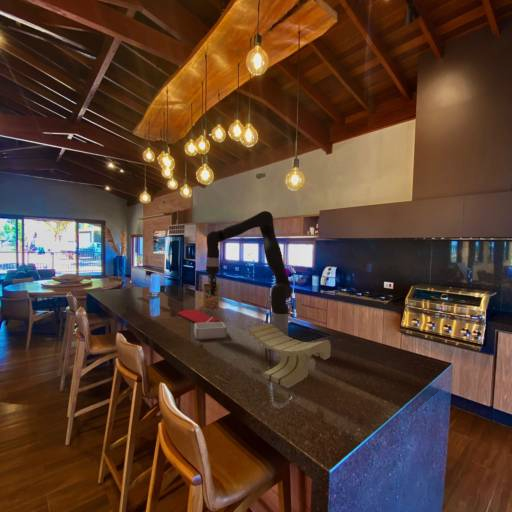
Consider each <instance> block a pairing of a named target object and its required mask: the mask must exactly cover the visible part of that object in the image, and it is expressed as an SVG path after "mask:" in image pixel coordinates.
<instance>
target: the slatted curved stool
mask: <svg viewBox="0 0 512 512" xmlns="http://www.w3.org/2000/svg"><path fill="white" fill-rule="evenodd" d="M248 335H249V336H252V337H253V340H256V341H257V340H258V343H259V344H261V345H262V344H263V348H266V349H268V350H272V351H274V352H276V353H281V360H280V362H279V363H277V365H276V366H274V367H272V368H271V369H268V370H266V371H264V372H263V374H262V377H263V378H265V379H267V380H270V381H271V382H273V383H276V384H277V385H280V386H282V387H285V388H287V389H289V388H291V387H293V386H294V385H296V384H298V383H300V382H302V381H303V380H305V379H306V378H307V377H308V374H309V373H308V372H309V365H310V364H309V363H310V360H311V357H312V356H316V357H319V358H321V359H323V360H324V361H326V360H327V359H329V358H331V350H332V349H331V346H332V345H331V341H330V340H329V339H325V340H321V341H318V342H315V341H313V342H306V341H301V340H298V339H296V338H295V339H294V338H292V337H290V336H289V335H288V336H286V335H285V334H284V333H282V332H280V330H279V329H277V328H275V326H274V325H272V324H271V323H265V324H260V325H256V326H253V327H249V328H248ZM305 377H306V378H305ZM304 378H305V379H304Z"/></svg>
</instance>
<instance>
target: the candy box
mask: <svg viewBox="0 0 512 512" xmlns="http://www.w3.org/2000/svg"><path fill="white" fill-rule="evenodd" d="M220 284H221V283H217V282H216V288H215V295H211V285H210V283H208V282H204V284H203V302H202V310H204V311H205V310H206V311H219V310H220V308H219V307H220V289H221V288H220V286H221V285H220ZM213 286H214V285H213Z"/></svg>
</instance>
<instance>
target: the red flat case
mask: <svg viewBox="0 0 512 512" xmlns="http://www.w3.org/2000/svg"><path fill="white" fill-rule="evenodd" d="M176 314H177V315H178V316H179V317H182V318H184V319H187V321H191V322H192V323H193V324H194V323H207V322H223V321H221V320H220V319H219V318H216V317H214V316H212V315H209V314H207V313H206V312H202V311H200V310H197V309H186V310H180V311H178V312H177V313H176Z"/></svg>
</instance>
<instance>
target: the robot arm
mask: <svg viewBox="0 0 512 512" xmlns="http://www.w3.org/2000/svg"><path fill="white" fill-rule="evenodd" d="M255 228H259V229H260V232H261V235H262V236H261V237H262V239H263V250H264V255H265V259H266V260H265V261H266V263H267V266H268V267H269V269H270V270H271V272H272V274H273V275H274V277H275V282H276V284H274V285H273V286H272V288H271V291H270V307H271V323H270V324H272V325H274V326H275V328H277V329H279V330H280V332H282V333H284V334H285V335H286V336H288V337H289V315H290V314H289V312H290V311H289V307H288V306H287V300H289V299H290V298H291V296H292V292H293V289H292V286H291V284H290V281H289V278H288V275H287V272H286V268H285V264H284V259H283V255H282V251H281V250H282V249H281V247H280V244H279V241H278V239H277V237H276V234H275V227H274V217H273V214H272V213H271V212H270V211H268V210H263V211H260V212H258V213H257V214H255V215H253V216H251V217H249V218H247V219H244V220H243V221H239V222H236V223H233V224H230V225H227V226H224V227H223V228H222V229H221V228H220V229H219V230H211V231H209V232H208V233H207V234H206V247H207V248H206V262H205V264H206V265H205V273H206V275H207V274H209V275H208V276H207V279H208V282H207V283H210V285H211V295H215V288H216V283H217V280H218V279H217V277H216V275H219V273H220V248H219V243H221V242H223V241H225V240H228V239H232V238H234V237H238V236H240V235H242V234H244V233H246V232H248V231H250V230H253V229H255ZM213 285H214V286H213Z"/></svg>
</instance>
